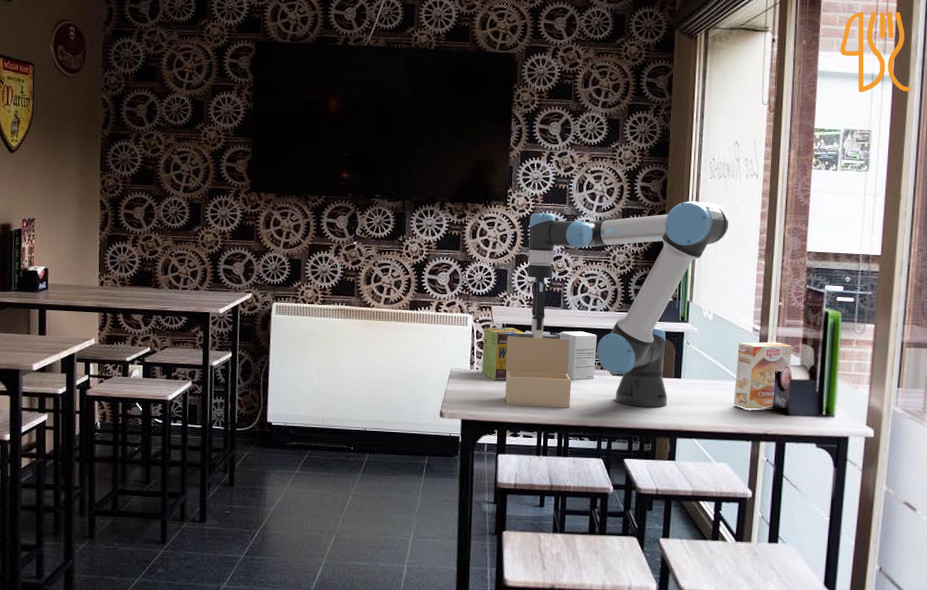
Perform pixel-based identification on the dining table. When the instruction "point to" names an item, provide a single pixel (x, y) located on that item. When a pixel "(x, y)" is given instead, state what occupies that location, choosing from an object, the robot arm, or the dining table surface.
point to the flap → (537, 353)
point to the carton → (537, 389)
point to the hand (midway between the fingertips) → (536, 338)
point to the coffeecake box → (759, 372)
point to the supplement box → (581, 354)
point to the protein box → (496, 351)
